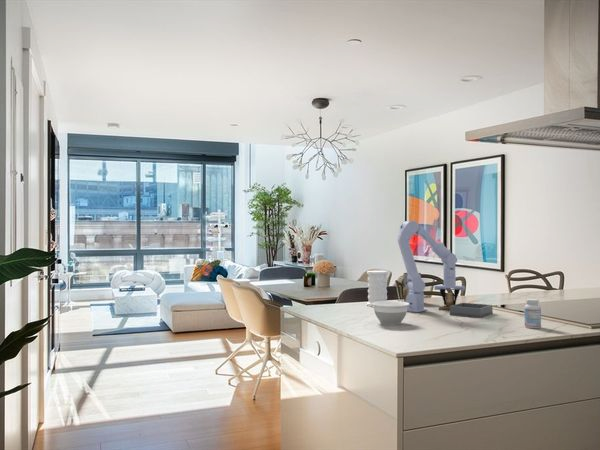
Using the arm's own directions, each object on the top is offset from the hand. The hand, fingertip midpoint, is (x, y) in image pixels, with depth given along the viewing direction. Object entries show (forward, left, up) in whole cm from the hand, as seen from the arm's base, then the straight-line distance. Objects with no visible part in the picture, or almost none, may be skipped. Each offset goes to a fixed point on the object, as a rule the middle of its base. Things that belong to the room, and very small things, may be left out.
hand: (449, 304), depth 271 cm
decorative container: (-7, +37, -3) cm, 38 cm away
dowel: (0, 0, -2) cm, 2 cm away
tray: (-8, -14, -2) cm, 16 cm away
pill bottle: (-27, -47, -3) cm, 54 cm away
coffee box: (+13, +27, -3) cm, 30 cm away
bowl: (-51, +4, -3) cm, 51 cm away
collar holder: (0, 0, -2) cm, 2 cm away
